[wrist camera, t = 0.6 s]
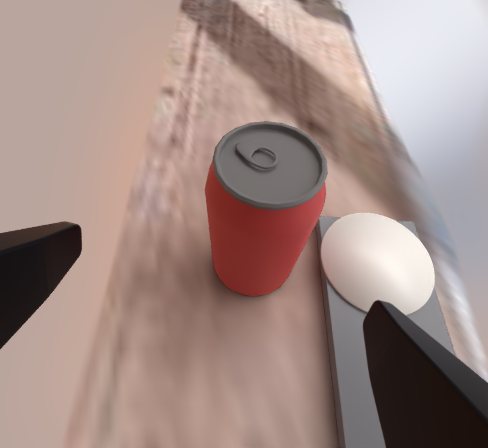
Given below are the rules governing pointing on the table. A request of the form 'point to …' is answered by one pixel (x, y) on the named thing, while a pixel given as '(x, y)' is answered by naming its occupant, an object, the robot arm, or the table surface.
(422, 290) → the charging dock
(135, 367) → the table surface
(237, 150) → the beer can
